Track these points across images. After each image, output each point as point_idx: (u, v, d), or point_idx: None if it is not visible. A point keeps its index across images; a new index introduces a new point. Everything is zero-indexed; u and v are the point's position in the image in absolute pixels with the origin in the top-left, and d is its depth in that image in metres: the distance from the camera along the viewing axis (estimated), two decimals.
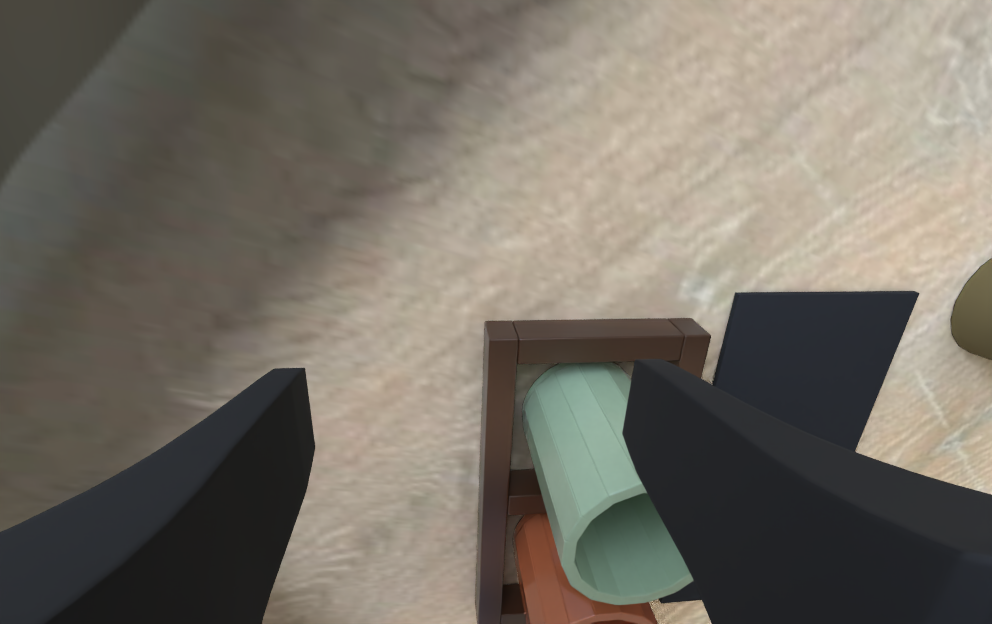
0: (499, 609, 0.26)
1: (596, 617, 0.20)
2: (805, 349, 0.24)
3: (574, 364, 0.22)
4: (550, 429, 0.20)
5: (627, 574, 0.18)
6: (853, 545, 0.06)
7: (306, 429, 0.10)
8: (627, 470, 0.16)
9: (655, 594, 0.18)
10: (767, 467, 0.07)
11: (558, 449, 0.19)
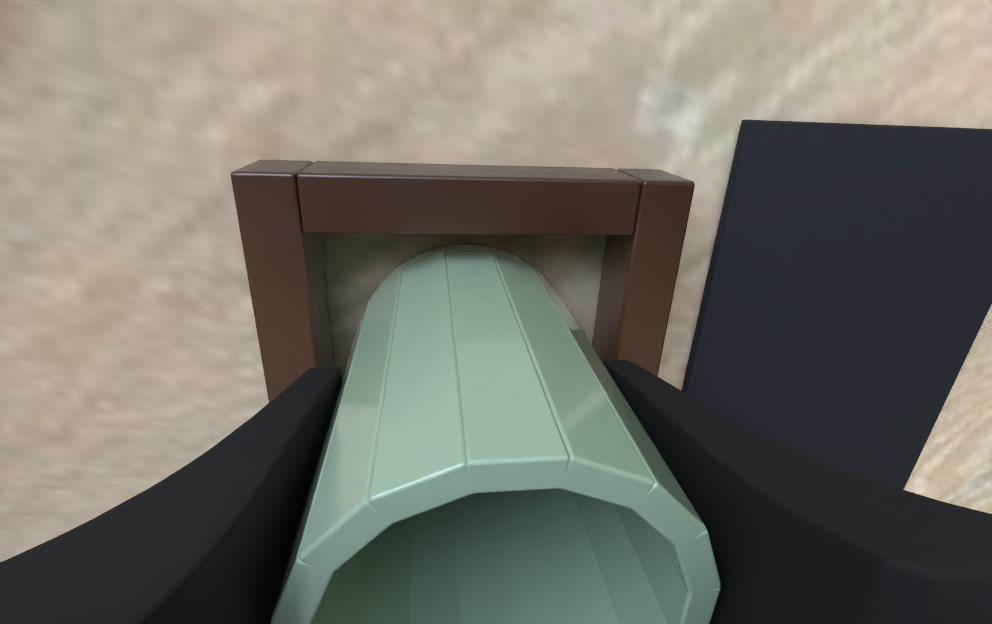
0: None
1: None
2: (865, 238, 0.13)
3: (439, 252, 0.12)
4: (354, 359, 0.09)
5: None
6: (788, 551, 0.06)
7: None
8: (443, 429, 0.06)
9: None
10: (714, 470, 0.07)
11: (345, 395, 0.08)
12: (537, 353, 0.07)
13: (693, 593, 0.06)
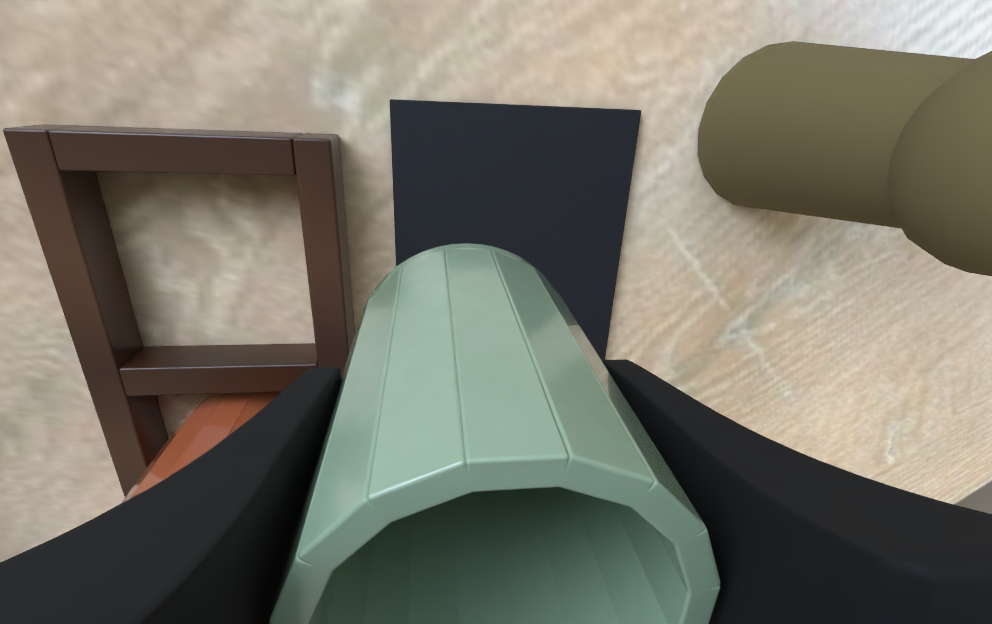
0: None
1: None
2: (504, 186, 0.19)
3: (439, 251, 0.12)
4: None
5: None
6: (788, 550, 0.06)
7: None
8: (442, 427, 0.06)
9: None
10: (714, 470, 0.07)
11: (345, 394, 0.08)
12: (537, 352, 0.07)
13: (693, 592, 0.06)
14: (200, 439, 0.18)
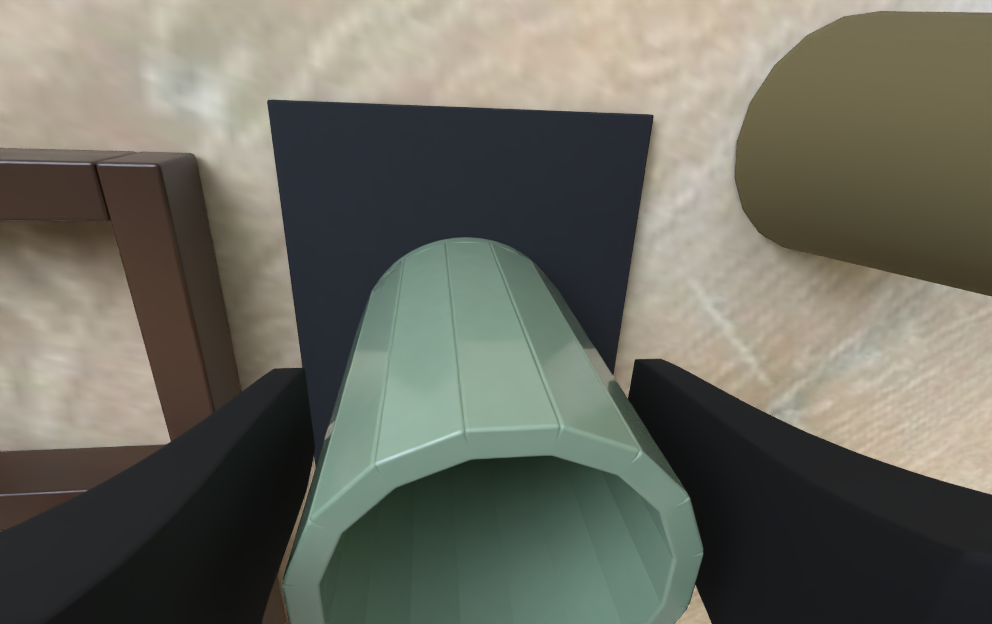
0: None
1: None
2: (451, 227, 0.13)
3: (440, 245, 0.12)
4: None
5: None
6: (853, 545, 0.06)
7: (306, 429, 0.10)
8: (444, 402, 0.06)
9: None
10: (767, 467, 0.07)
11: (351, 377, 0.09)
12: (532, 336, 0.08)
13: (677, 558, 0.07)
14: None
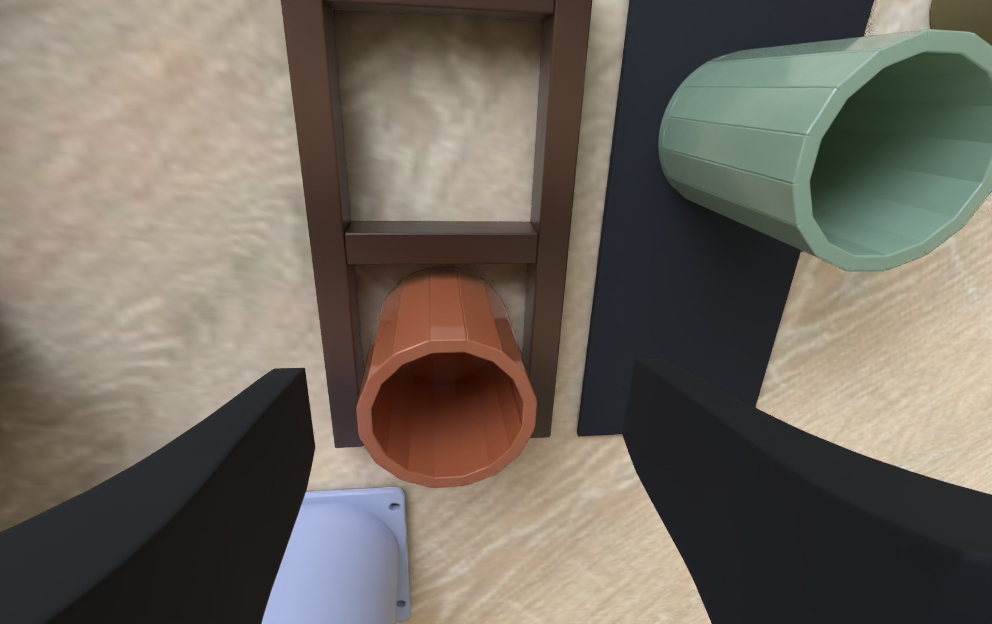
0: None
1: (431, 343, 0.15)
2: (736, 43, 0.18)
3: (734, 52, 0.18)
4: (729, 87, 0.15)
5: (850, 246, 0.14)
6: (853, 545, 0.06)
7: (306, 429, 0.10)
8: (893, 35, 0.12)
9: (899, 255, 0.13)
10: (767, 466, 0.07)
11: (752, 88, 0.14)
12: None
13: None
14: (435, 301, 0.17)
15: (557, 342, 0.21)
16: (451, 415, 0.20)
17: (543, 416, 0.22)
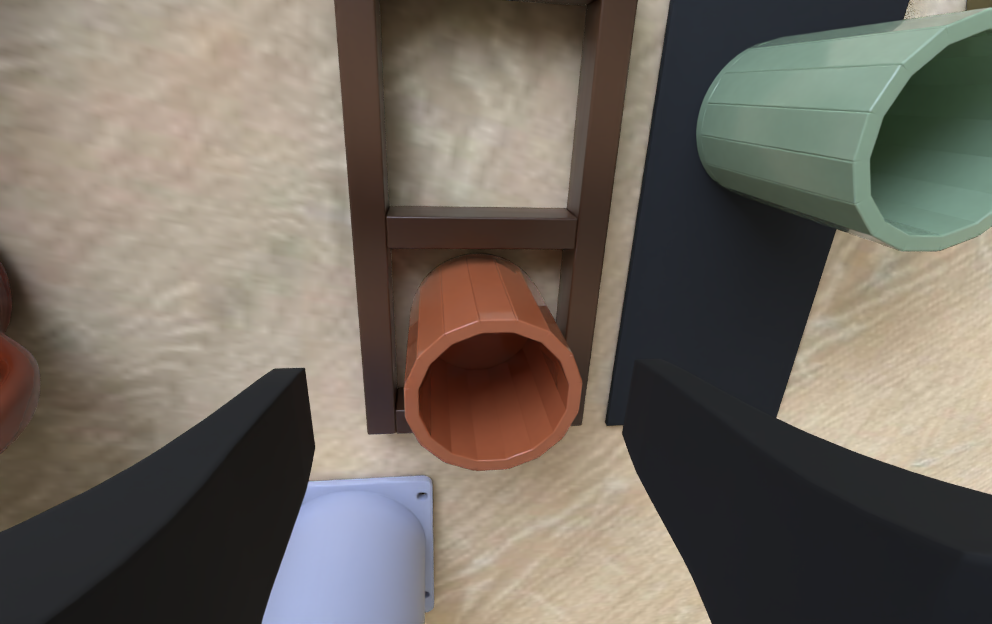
0: (392, 401, 0.21)
1: (481, 323, 0.15)
2: (776, 31, 0.18)
3: (775, 39, 0.18)
4: (777, 71, 0.15)
5: (901, 227, 0.14)
6: (853, 545, 0.06)
7: (306, 429, 0.10)
8: (956, 14, 0.12)
9: (953, 236, 0.13)
10: (766, 467, 0.07)
11: (804, 70, 0.14)
12: None
13: None
14: (478, 284, 0.17)
15: (592, 329, 0.21)
16: (487, 401, 0.20)
17: None
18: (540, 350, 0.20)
